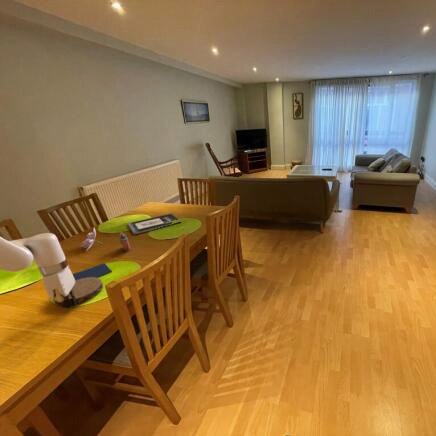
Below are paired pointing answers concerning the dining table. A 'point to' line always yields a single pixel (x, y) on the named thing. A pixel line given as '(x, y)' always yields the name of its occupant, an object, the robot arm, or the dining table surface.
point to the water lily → (90, 239)
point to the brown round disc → (84, 290)
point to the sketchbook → (151, 223)
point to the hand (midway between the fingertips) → (71, 305)
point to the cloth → (93, 272)
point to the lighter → (125, 242)
